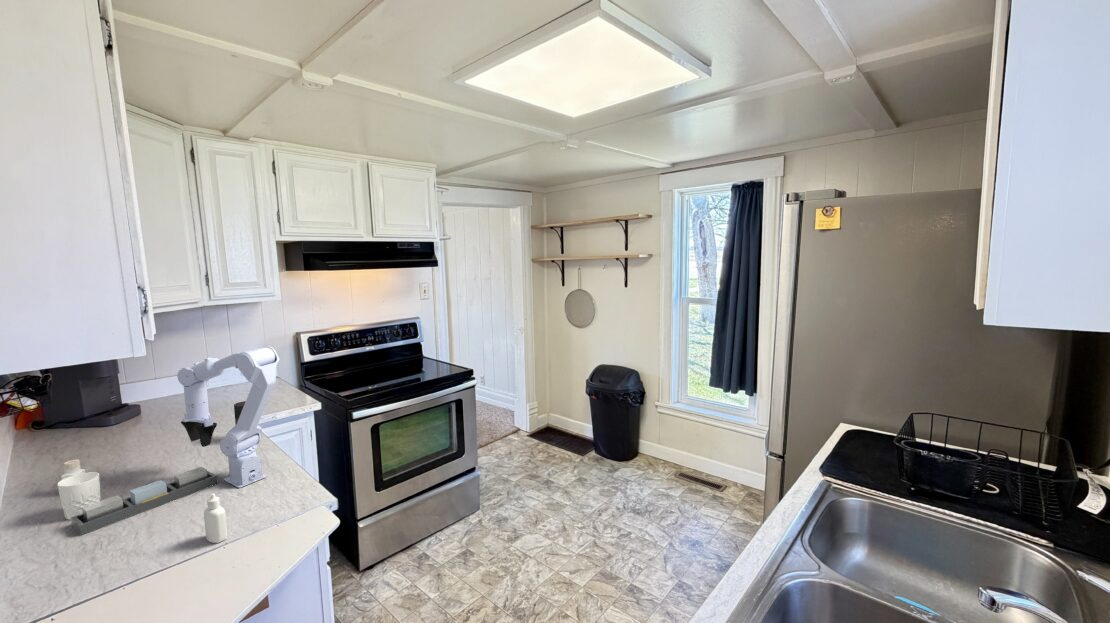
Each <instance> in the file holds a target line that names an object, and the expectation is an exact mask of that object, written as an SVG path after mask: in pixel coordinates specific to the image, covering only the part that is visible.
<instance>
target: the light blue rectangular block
mask: <svg viewBox="0 0 1110 623" xmlns="http://www.w3.org/2000/svg"><path fill="white" fill-rule="evenodd" d="M166 484H167V483H166V482H165V481H164V480H162V479H160V480H157V481H154V482H151V483H149V484H145V485H142V486H139V487H136V488H133V489H131V490H129V495H130V496H129V497H131V504H133V505H135V504H138V503H141V502H142V501H145V500H147V499H150V498H153V497H156V496H158V495H161V494H164V493H167V486H166Z"/></svg>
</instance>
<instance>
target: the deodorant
mask: <svg viewBox="0 0 1110 623" xmlns="http://www.w3.org/2000/svg"><path fill="white" fill-rule="evenodd" d="M245 402H246V400H245V401H239V402H235V403H234V404H233V409H234V410H233V411H234V423H235V425H236V424H237V422H238V419H239V417H240V414H241V412H242V409H243V407H244V405H245ZM235 425H234V426H235Z"/></svg>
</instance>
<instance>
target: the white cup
mask: <svg viewBox="0 0 1110 623" xmlns="http://www.w3.org/2000/svg"><path fill="white" fill-rule="evenodd" d="M56 485H57V489H58V490H57V491H58V493H59V494H58V495H59V499H60V503H61V506H62V510H63V514H64V518H65V519H66V520H70V521H71V517H74V516H77V515H80V514H83V512H82V507H84V506H87V505H90V504H93V503H96V502H99V501H101V482H100V473H99V472H96V471H90V472H89V471H88V472H85V473H81V474H77V475H73V476H70V477H67V478H65V479H63V480H61V479H60V481H58V482H57V484H56Z"/></svg>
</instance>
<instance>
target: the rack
mask: <svg viewBox="0 0 1110 623" xmlns="http://www.w3.org/2000/svg"><path fill="white" fill-rule="evenodd" d="M215 484H216V485H218V484H219V483H218V475H215V474H214V473H212V472H211V471H209V470H208V469H207V468H204V467H203V466H198V467H196V468H194V469H189V470H187V471H184V472H181V473H179V474H175V475H173V481H172V482H167V483H166V486H167V493H164V494H161V495H158V496H156V497H153V498H150V499H147V500H145V501H142V502H141V503H138V504H135V505H133V504H131V497H130V496H129V497H126V498H122V497H121V496H120V495H118V494H116V495H113V496H111V497H108V498H105V499H102V500H100V501H99V502H96V503H93V504H90V505H87V506H84V507H82V512H83V514H80V515H77V516H74V517H71V520H70V521H71V525H72V526H71V527H72V528H73V529H74V531H76V532H77V533H78V534H79V535H81V536H83V535H84V536H85V535H87V534H89V533H92V532H94V531H96V530H99V529H102V528H105V527H107V526H110V525H113V524H115V523H119V522H121V521H123V519H124V520H126V519H128V518H131V517H134V516H136V515H139V514H141V513H144V512H147V511H150V510H152V509H155V508H157V507H160V506H162V505H166V504H168V503H171V502H173V500H174V501H176V500H178V499H181V498H184V497H186V495H187V496H189V495H191V494H194V493H195V494H196V493H197V492H199V491H202V490H204V489H207V487H208V488H210V487H213V486H216V485H215ZM212 485H213V486H212ZM170 501H171V502H170ZM165 503H166V504H165Z"/></svg>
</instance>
